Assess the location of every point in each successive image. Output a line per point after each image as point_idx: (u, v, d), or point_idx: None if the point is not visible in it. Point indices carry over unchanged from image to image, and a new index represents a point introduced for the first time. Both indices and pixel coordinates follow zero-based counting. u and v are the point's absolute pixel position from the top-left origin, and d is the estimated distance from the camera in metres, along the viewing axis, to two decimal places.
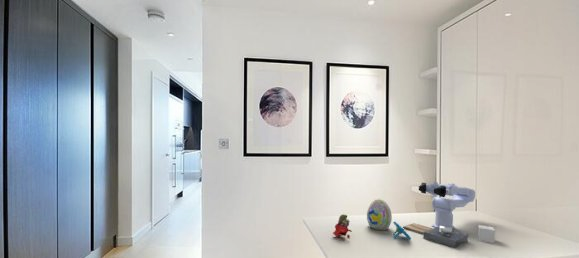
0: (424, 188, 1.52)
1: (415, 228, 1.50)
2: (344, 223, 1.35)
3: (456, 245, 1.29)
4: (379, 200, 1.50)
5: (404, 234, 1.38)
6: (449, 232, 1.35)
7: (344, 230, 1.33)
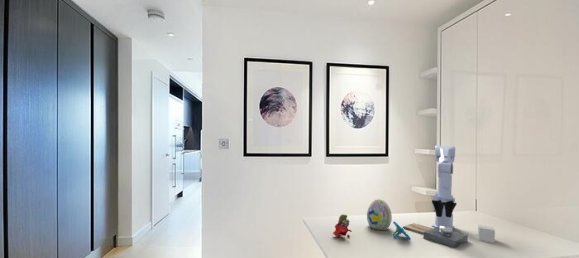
0: None
1: (415, 228, 1.50)
2: (344, 223, 1.35)
3: (456, 245, 1.29)
4: (379, 200, 1.50)
5: (404, 234, 1.38)
6: (449, 232, 1.35)
7: (344, 230, 1.33)
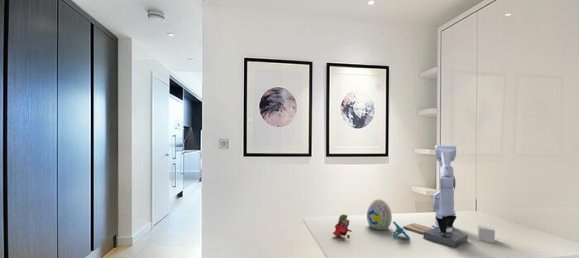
0: None
1: (415, 228, 1.50)
2: (344, 223, 1.35)
3: (456, 245, 1.29)
4: (379, 200, 1.50)
5: None
6: (449, 232, 1.35)
7: (344, 230, 1.33)
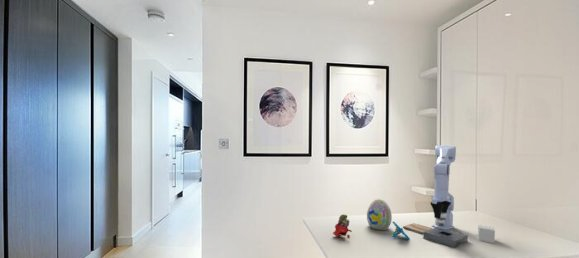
0: None
1: (415, 228, 1.50)
2: (344, 223, 1.35)
3: (456, 245, 1.29)
4: (379, 200, 1.50)
5: (403, 234, 1.38)
6: (444, 217, 1.38)
7: (344, 230, 1.33)
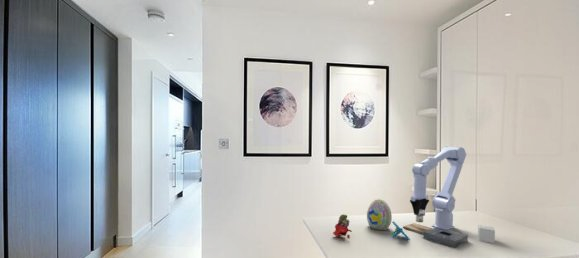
0: None
1: (415, 228, 1.50)
2: (344, 223, 1.35)
3: (456, 245, 1.29)
4: (379, 200, 1.50)
5: None
6: (422, 214, 1.49)
7: (344, 230, 1.33)
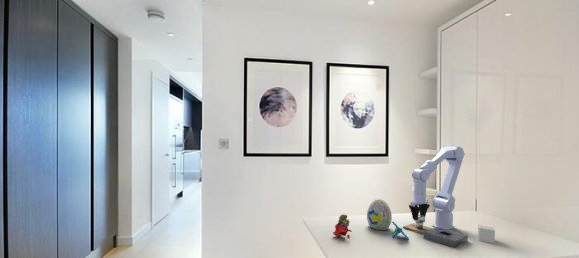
0: None
1: (415, 228, 1.50)
2: (344, 223, 1.35)
3: (456, 245, 1.29)
4: (379, 200, 1.50)
5: None
6: (422, 220, 1.49)
7: (344, 230, 1.33)
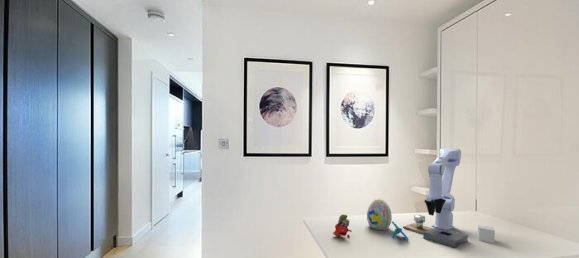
0: None
1: (415, 228, 1.50)
2: (344, 223, 1.35)
3: (456, 245, 1.29)
4: (379, 200, 1.50)
5: None
6: (422, 220, 1.49)
7: (344, 230, 1.33)
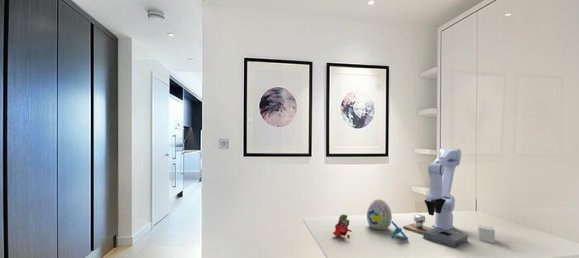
0: None
1: (415, 228, 1.50)
2: (344, 223, 1.35)
3: (456, 245, 1.29)
4: (379, 200, 1.50)
5: None
6: (422, 220, 1.49)
7: (344, 230, 1.33)
